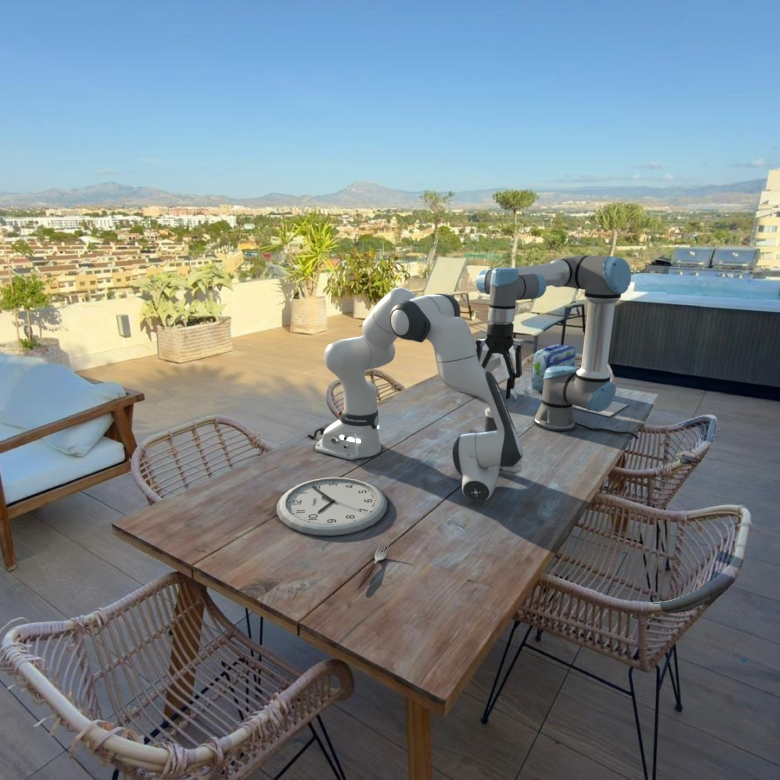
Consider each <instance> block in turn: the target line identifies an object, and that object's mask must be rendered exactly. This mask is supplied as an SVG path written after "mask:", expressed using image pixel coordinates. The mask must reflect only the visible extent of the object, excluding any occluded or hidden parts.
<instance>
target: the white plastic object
mask: <svg viewBox="0 0 780 780" xmlns="http://www.w3.org/2000/svg"><path fill="white" fill-rule="evenodd" d="M475 347H476V345H475ZM476 348H477V347H476ZM488 350H489V348H488V346H487V345H486V343H484V346H483V348H482V353H481V358H480V364H481V365H482V363H483V361H484V359H485V356H486V354H487V352H488ZM509 352H510V357H511V360H513V363H514V366H515V367H516V360H515V350H514V347H513V346H512V347H511V348H510V349H509ZM500 366H502V370H503V373H504V376H505V380H506V381H507V379H508V378H509V377H510V376H509V373H508V369H507V366H506V363H505V359H504V357H503V354H499V353H493V354H492V356H491V358H490V360H489V362H488V364H487V366H486V368H485V370H486V371H487V372H490V373H492V372H494V371H495V370H496V369H497V368H499V367H500ZM518 380H519V382H520V385H521V389H522V391H523V393H524V395H525V396H526V397H528V396H531V395H530V390H529V388H528V387H529V386H528V384H527V381H526V378H525V375H524V371H523V370H522V375H521V376H520V377H519V378H518ZM516 391H517V390H516V388H515V387H514V388H513V389H511V393H510V395H512V397H513V398H514V399H515V400H517V392H516Z"/></svg>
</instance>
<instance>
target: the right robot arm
mask: <svg viewBox="0 0 780 780" xmlns="http://www.w3.org/2000/svg"><path fill="white" fill-rule="evenodd" d="M631 281H632V271H631V267H630V264H629V263H628V261H627V260H626V259H624V258H622V257H617V256H611V255H609V256H608V255H587V254H580V255H573V256H568V257H563V258H557V259H553V260H552V261H551V262H548V263H542V264H534V265H526V266H519V267H495V268H493V269H483V270H481V271H479V273H478V274H477V277H476V280H475V285H476V289H477V290H478V291H479V292H480V293H481V294H485V295H489V302H488V312H487V313H488V315H487V321H488V322H487V328H486V337H485V338H484V339H482V338H478V339H477V340H475V346H476V347H477V348H476V352H477V357H478V360H479V362H480V358H481V353H482V348H483V346H484V344H486V345H487V346H488V348H489V350H488V352H487V354H486V356H485V359H484V361H483V363H482V365H481V366H482V367H483V368H484V369H485V368H486V366H487V364H488V362H489V360H490V358H491V356H492V354H493V353H499V354H503V357H504V359H505V363H506V366H507V369H508V373H509V376H510V377H509V378H508V379H507V380H506V389H505V398H504V401H509V400H510V399H511V389H513V388H515V385H516V379H519V377H520V376H521V375H522V371H523V363H522V350H523V347H524V344H523V343H522V342H520V343H518V342H516V341H515V340H514V327H515V324H514V322H515V316H516V315H515V314H516V305H517V301H525V300H535V299H540V298H541V297H543V296H544V294H545V293H546V291H547V287H550V286H551V287H554V288H571V289H578V290H584V298H585V299H586V300H587V302H588V303H587V310H586V311H587V312H586V321H585V329H584V331H585V332H584V338H583V347H582V356H581V364H580V365H581V366H580V368H579V369H578V368H577V367H576V366H574V367H571V366H555V367H549V368H547V369H546V370H545V375H544V378H543V379H544V381H543V391H541V393H542V394H541V402H540V405H539V407H538V410H537V411H536V413H535V416H534V424H535V425H536V426H537V427H539V428H542V429H544V430H549V431H556V432H567V431H572V430H574V429H575V428H576V426H578V427H581V428H583V429H586V430H589V431H594V432H595V431H597V432H598V431H599V432H606V433H611V434H615V435H629V436H632V437H633V438H634V439H636V440H639V439H640V438H639V436H638V435H637V434H636V433H634V432H631V431H619V430H618V431H617V430H613V429H608V428H602V427H591V426H588V425H586V424H582V423H580V422H577V421H576V418H575V417H576V416H575V413H574V407H573V406H575V407H576V406H579V407H582V408H585V409H587V410H592V411H596V412H601V411H603V410H605V409H606V408H608V406H609V405H610V404H611V403H612V401H614V398H615V396H616V392H617V386H616V384H615V383H614V382H613V381H611V373H610V372H609V371H608V363H609V354H610V347H611V340H612V339H611V338H612V332H613V324H614V315H615V309H616V308H615V307H616V303H617V302H618V301H619V300H620V299H621V298H622V294H624V293H626V292H627V291H628V290H629V287H630V285H631ZM512 346H513V347H514V350H515V360H516V366H515V368H514V364H513V361H512V360H513V359H511V357H510V352H509V349H510V348H511V347H512Z"/></svg>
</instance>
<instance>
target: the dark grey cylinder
mask: <svg viewBox="0 0 780 780" xmlns="http://www.w3.org/2000/svg"><path fill="white" fill-rule="evenodd" d="M484 423H485V424H484V432H489V431H496V430H497V426H496V424H495V421H494V418H491V417H487V416H486V415H485V422H484Z"/></svg>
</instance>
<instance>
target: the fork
mask: <svg viewBox="0 0 780 780" xmlns="http://www.w3.org/2000/svg"><path fill="white" fill-rule="evenodd" d="M381 543H382V545H381ZM384 543H385V545H384ZM390 543H391V542H388V543H387V542H385V541H383V542H382V541H380V542H379V545H378V547H377V550H376V551H375V554H374V562H373V563H372V564H371V565H370V566H369V567H368V568H367V569H366V571H365V573H364V575H363V577H362V579H361V581H360V583H359V585H358V588H357V589H360V588H362V586H363V585H364V584H365V582H366V581H367V580H368V578H369V577H370V576H371V575H372V573H373V571H374V570H375V567H376V565H377V562H379V561H384V560H385V559H386V557H387V554H388V551H389V547H390ZM387 544H388V545H387ZM380 547H381V548H380ZM383 547H384V548H383Z"/></svg>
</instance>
